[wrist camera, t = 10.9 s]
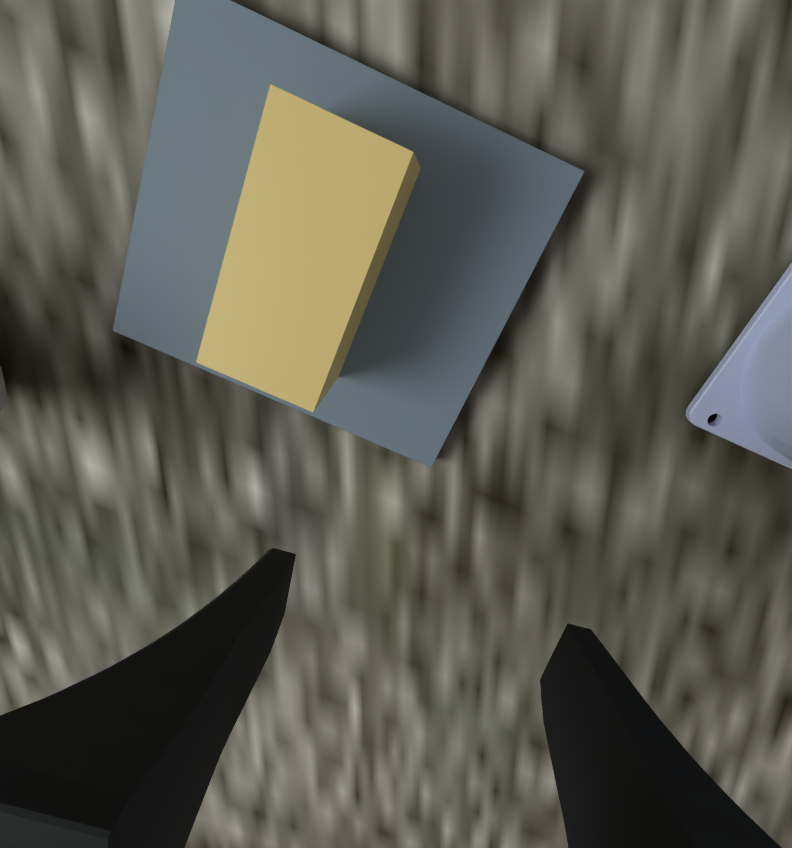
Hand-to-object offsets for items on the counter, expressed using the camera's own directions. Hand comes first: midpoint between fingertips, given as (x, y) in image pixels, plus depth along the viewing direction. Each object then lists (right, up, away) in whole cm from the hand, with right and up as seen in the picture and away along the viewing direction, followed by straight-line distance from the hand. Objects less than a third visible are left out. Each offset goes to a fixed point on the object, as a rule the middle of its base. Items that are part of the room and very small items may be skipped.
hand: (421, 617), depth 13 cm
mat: (-3, +11, +6) cm, 13 cm away
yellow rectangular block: (-3, +11, +5) cm, 13 cm away
